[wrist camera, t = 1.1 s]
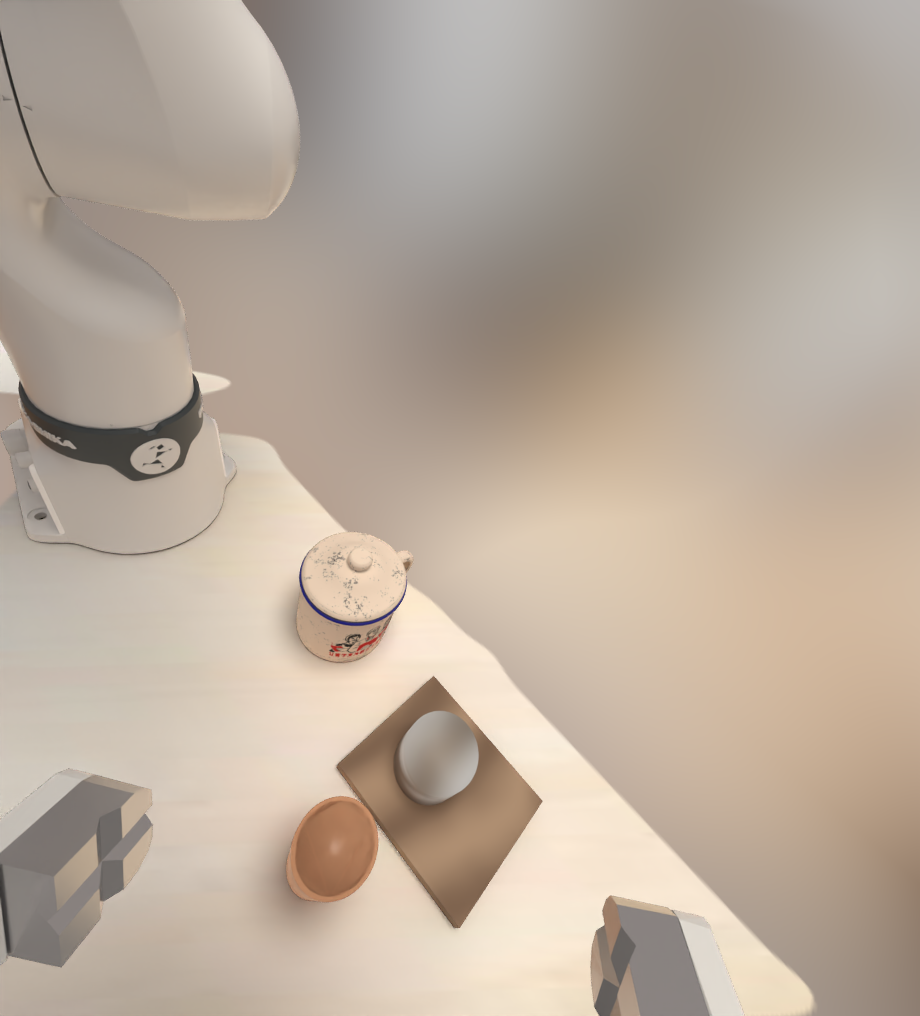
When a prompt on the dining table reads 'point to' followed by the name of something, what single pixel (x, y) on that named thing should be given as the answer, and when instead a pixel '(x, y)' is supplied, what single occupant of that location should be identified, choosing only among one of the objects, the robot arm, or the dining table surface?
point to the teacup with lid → (349, 594)
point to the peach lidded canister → (332, 850)
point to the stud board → (452, 825)
